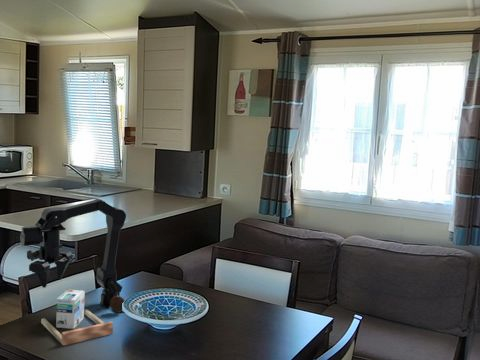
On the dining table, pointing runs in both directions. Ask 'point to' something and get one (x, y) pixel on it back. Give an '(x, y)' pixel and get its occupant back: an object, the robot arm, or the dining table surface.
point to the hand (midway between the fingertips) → (51, 283)
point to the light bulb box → (70, 309)
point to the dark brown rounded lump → (116, 303)
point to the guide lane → (81, 330)
